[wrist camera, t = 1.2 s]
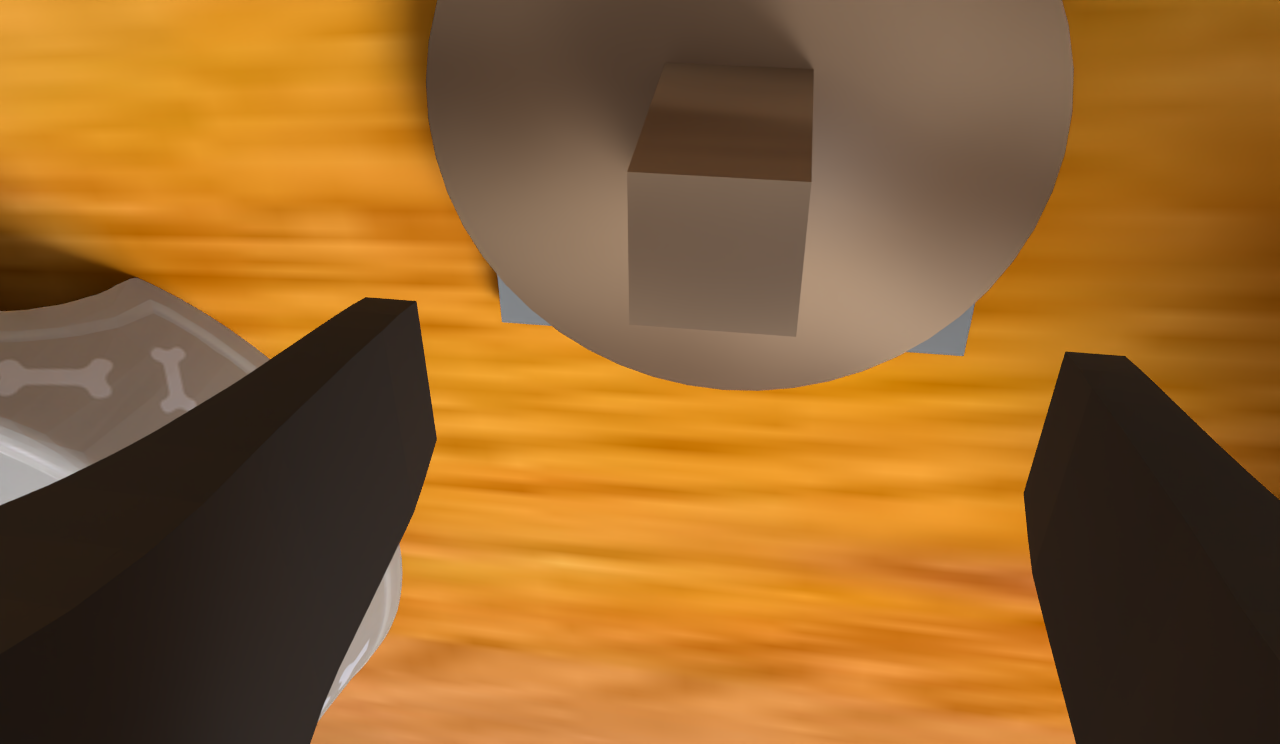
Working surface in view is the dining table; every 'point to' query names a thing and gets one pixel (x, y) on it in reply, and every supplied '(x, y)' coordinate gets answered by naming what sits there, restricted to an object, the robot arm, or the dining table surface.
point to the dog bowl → (127, 400)
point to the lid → (749, 169)
